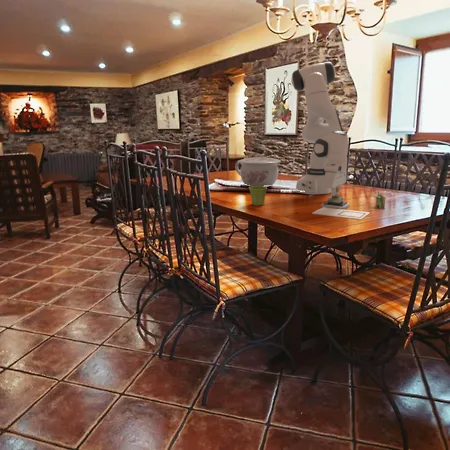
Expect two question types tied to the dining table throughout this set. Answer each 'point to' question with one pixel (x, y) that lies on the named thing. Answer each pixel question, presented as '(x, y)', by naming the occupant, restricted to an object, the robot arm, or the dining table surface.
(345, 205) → the ink pad
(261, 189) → the plant pot
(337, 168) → the robot arm
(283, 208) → the dining table surface
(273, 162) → the chamber pot
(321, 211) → the paper sheet
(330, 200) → the stamp
